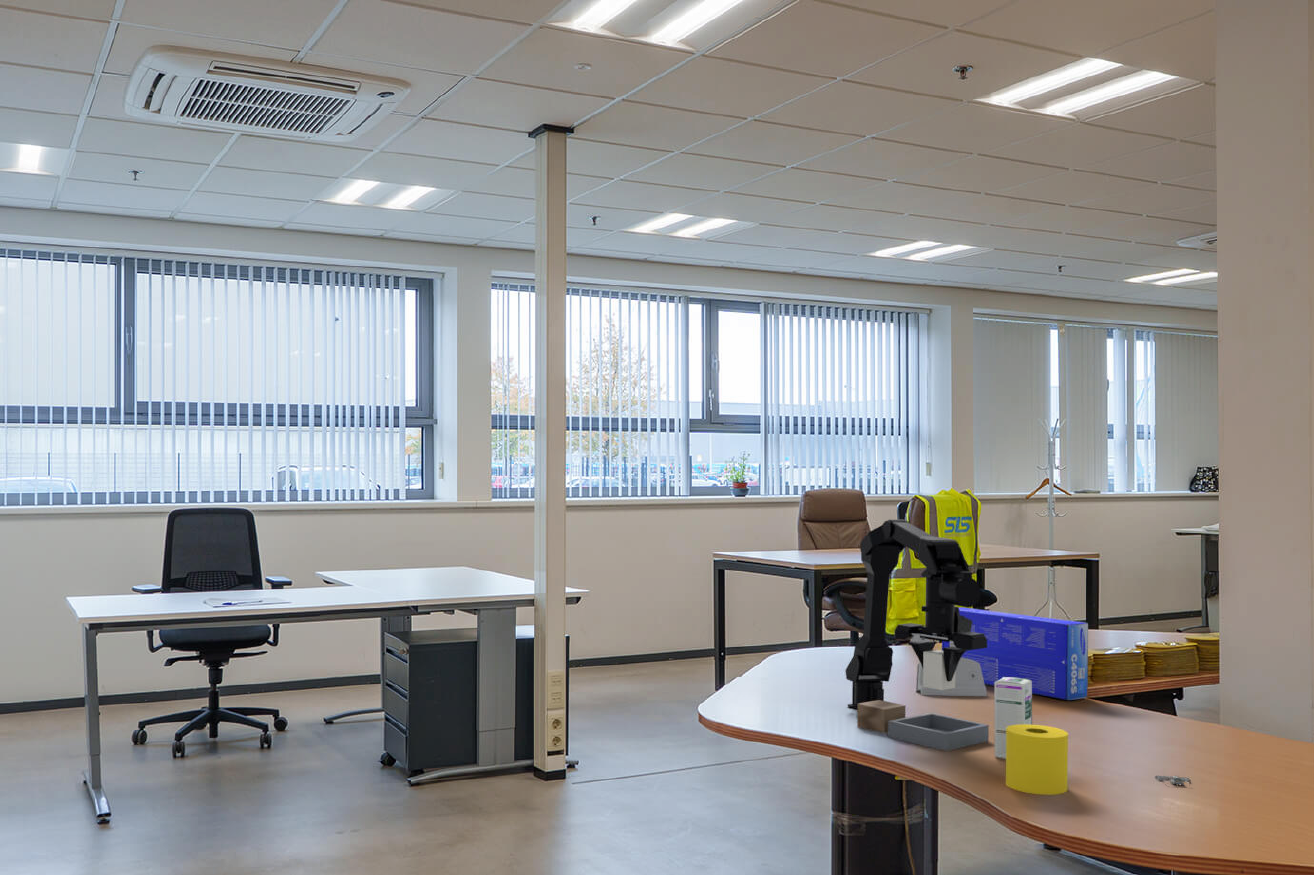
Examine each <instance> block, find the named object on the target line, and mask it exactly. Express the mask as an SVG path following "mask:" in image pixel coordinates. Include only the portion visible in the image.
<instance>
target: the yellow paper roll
mask: <svg viewBox="0 0 1314 875" xmlns="http://www.w3.org/2000/svg"><path fill="white" fill-rule="evenodd" d="M1068 737H1069V733H1068V732H1067V731H1066V730H1064V729H1061V728H1059V727H1054V726H1048V725H1041V724H1032V725H1030V724H1019V725H1011V726H1008V727H1007V728H1006V759H1005V785H1006V786H1007V787H1008V788H1010V789H1013V790H1016V791H1018V792H1023V793H1027V794H1034V795H1045V796H1047V795H1049V796H1051V795H1059V794H1060V795H1061V794H1064V793H1067V791H1068V777H1069V775H1068V772H1069V769H1068V766H1069V764H1068V763H1069V762H1068V761H1069V760H1068V759H1069V758H1068V757H1069V754H1068V751H1069V750H1068V749H1069V746H1068V744H1069V738H1068Z"/></svg>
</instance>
